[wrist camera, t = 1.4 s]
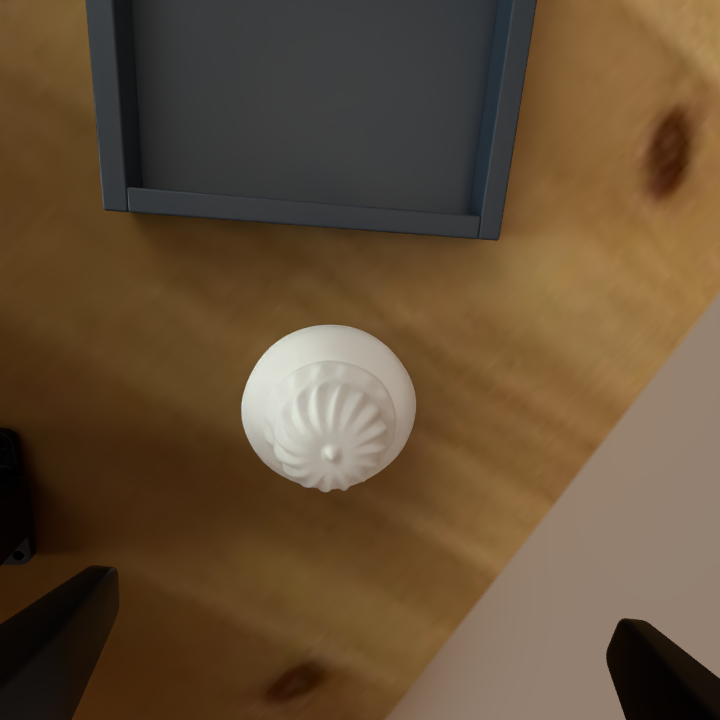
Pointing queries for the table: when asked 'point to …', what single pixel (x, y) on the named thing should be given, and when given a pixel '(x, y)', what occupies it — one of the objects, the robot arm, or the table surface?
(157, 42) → the tray
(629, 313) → the table surface
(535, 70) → the table surface
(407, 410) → the muffin
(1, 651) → the robot arm
